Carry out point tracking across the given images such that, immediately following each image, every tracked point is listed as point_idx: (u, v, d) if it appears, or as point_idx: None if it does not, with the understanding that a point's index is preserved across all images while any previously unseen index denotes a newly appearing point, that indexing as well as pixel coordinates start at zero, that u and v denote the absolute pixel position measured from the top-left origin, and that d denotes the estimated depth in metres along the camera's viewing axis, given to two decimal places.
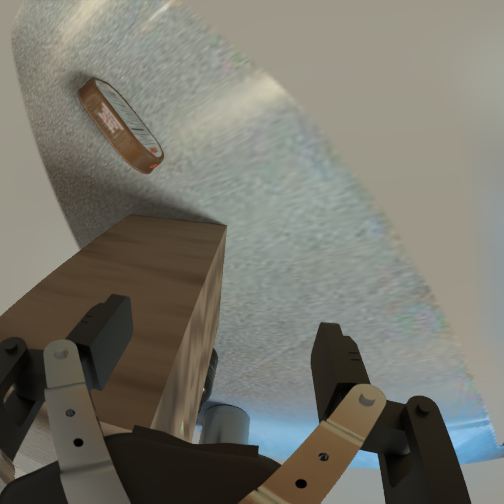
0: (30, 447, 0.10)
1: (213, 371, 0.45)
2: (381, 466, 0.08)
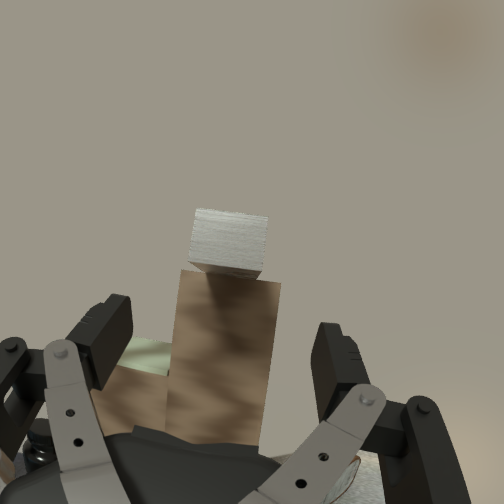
0: None
1: None
2: (381, 466, 0.08)
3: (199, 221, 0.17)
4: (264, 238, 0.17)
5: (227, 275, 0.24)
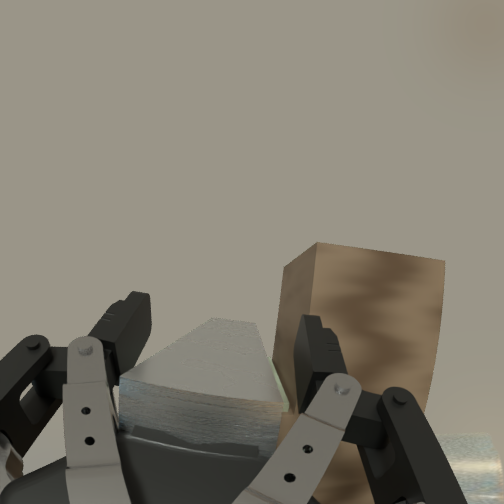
0: None
1: None
2: (362, 459, 0.08)
3: (128, 405, 0.07)
4: (273, 445, 0.06)
5: None
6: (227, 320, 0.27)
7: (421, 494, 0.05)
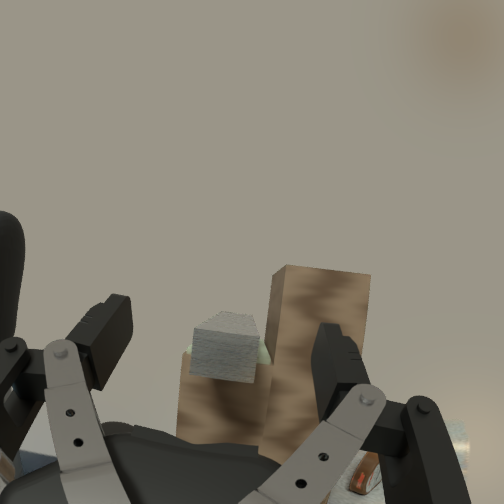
0: None
1: None
2: (381, 466, 0.08)
3: (197, 340, 0.18)
4: (256, 356, 0.18)
5: None
6: (232, 313, 0.39)
7: None
